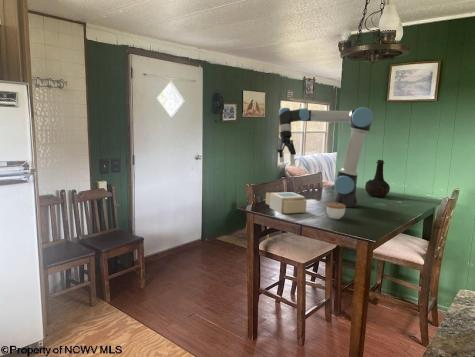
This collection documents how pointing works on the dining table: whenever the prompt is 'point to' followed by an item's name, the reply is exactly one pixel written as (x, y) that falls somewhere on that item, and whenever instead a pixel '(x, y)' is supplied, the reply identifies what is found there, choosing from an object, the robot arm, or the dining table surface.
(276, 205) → the cream box
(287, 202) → the tray
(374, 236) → the dining table surface
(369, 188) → the glass bottle
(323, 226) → the dining table surface
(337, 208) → the lidded jar
